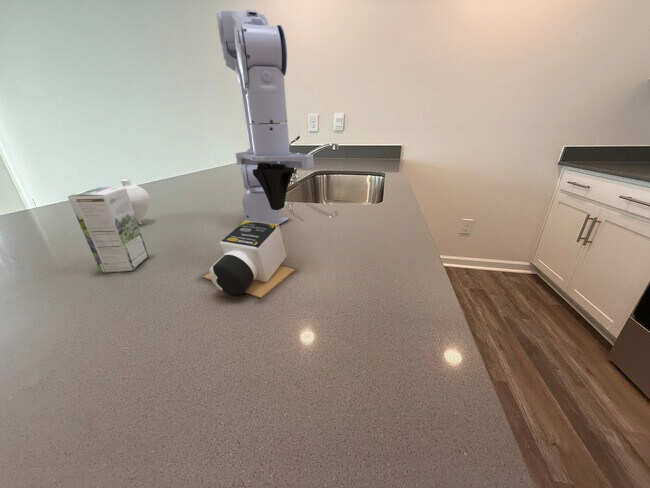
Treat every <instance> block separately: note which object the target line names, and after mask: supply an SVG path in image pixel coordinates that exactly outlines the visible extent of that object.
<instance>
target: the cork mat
mask: <svg viewBox="0 0 650 488" xmlns="http://www.w3.org/2000/svg"><path fill="white" fill-rule="evenodd" d="M294 272H295V269H294V268H291V267H287V266H283V265H280V266H279V267H278V268H277V270H276V271H275V272H274V274H273V275H272V276H271V278H270V279H269V280H268V281H267V282H263V281H258V280H254V281H253V282H252V283H251V284H250V285H249V287H248V288H247V289H246V290H245V292H244V293H243V294H248V295H250V296H253V297H255V298H258V299H263V298H264V297H265V296H266V295H268V293H270V292H271V291H272V290H273V289H275V288H276V287H277V286H278V285H279V284H281V283H282V282H283V281H284V280H286V279H287V278H288V277H289V276H290V275H292V274H293V273H294ZM202 277H203V279H206V280H208V281H211V282H212V280H211V278H210V272H208V273H207V274H205V275H203V276H202Z"/></svg>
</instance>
